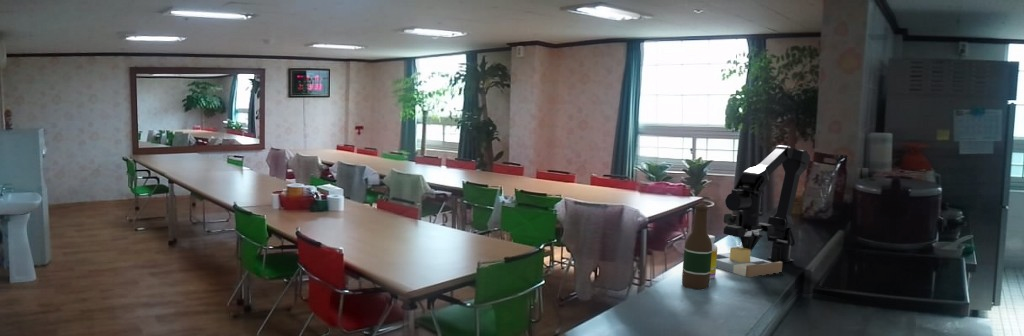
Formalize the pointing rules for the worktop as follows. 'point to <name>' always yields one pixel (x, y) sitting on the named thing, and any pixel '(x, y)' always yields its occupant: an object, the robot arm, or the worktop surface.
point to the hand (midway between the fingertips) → (746, 255)
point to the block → (740, 254)
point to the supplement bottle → (713, 257)
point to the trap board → (748, 266)
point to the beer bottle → (697, 253)
